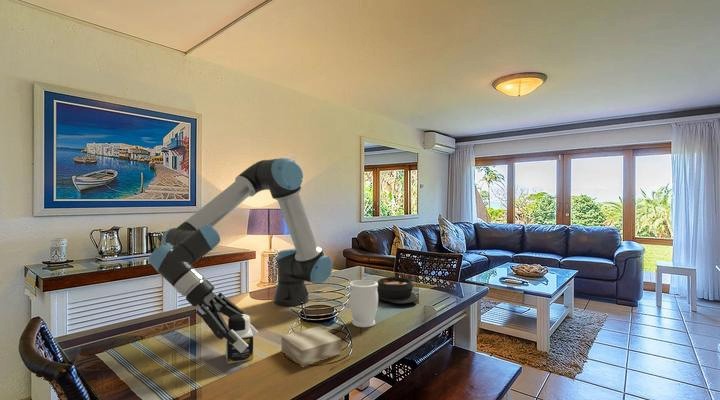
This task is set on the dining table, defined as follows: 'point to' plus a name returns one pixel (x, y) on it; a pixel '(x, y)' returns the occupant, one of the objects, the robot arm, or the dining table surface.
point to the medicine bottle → (242, 328)
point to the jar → (363, 302)
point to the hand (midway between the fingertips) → (250, 341)
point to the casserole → (396, 290)
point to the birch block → (310, 345)
